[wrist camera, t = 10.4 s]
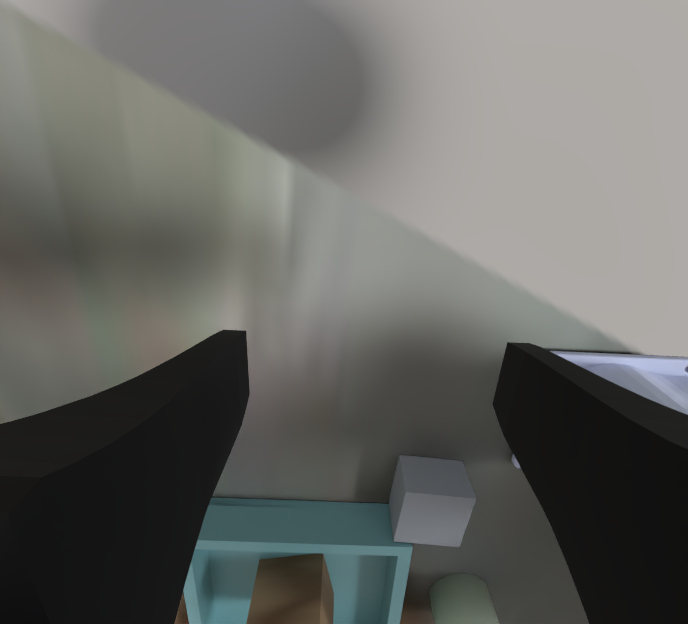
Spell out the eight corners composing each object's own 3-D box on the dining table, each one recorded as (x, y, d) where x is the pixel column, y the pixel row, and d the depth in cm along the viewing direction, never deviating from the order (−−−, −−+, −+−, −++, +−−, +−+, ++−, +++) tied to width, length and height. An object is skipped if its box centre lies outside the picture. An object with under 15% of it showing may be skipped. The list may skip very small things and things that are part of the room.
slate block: (461, 459, 25) (476, 498, 22) (447, 505, 26) (459, 547, 23) (399, 452, 24) (405, 492, 22) (388, 499, 26) (393, 541, 23)
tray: (405, 504, 26) (412, 547, 23) (386, 630, 31) (390, 677, 29) (192, 496, 26) (174, 539, 23) (210, 625, 31) (197, 672, 28)
